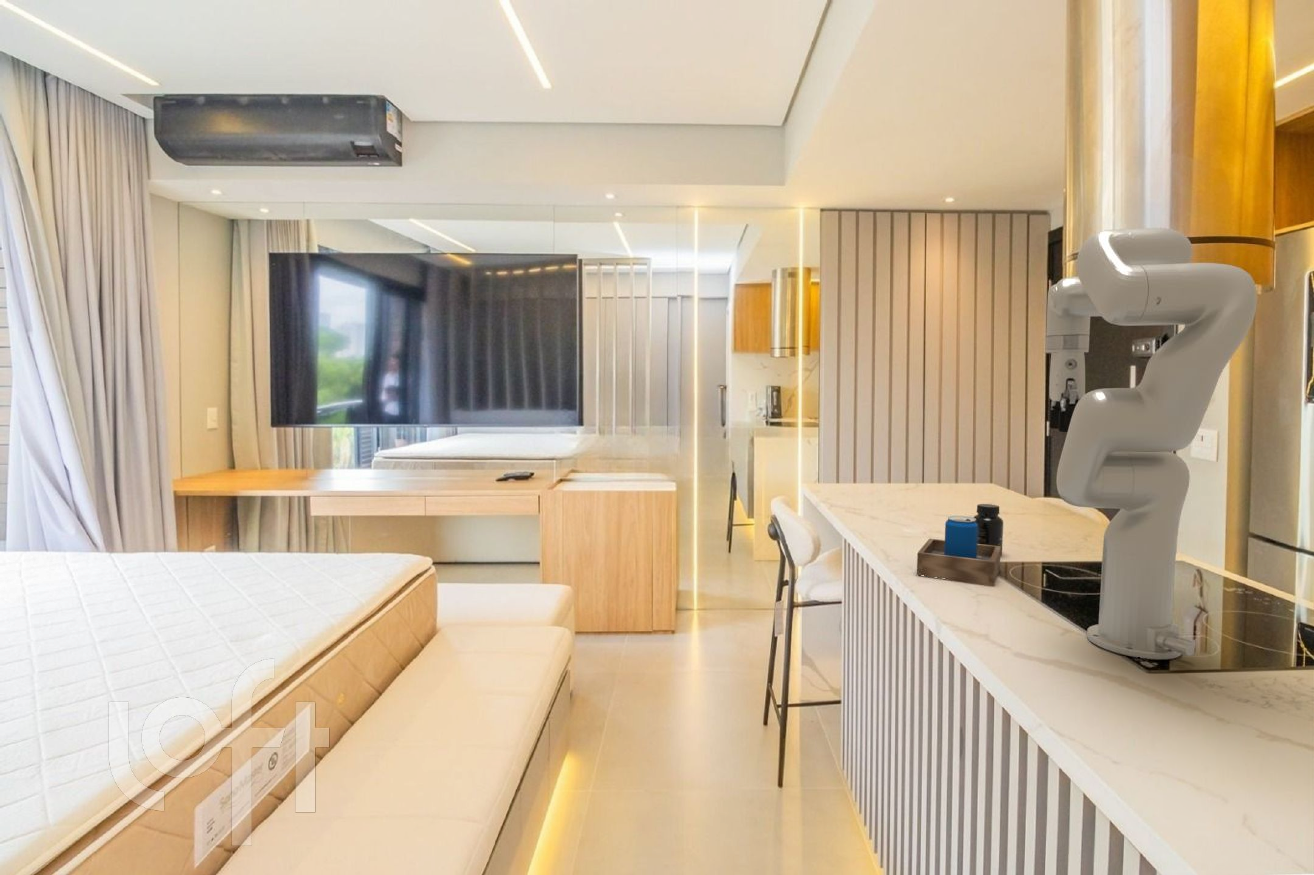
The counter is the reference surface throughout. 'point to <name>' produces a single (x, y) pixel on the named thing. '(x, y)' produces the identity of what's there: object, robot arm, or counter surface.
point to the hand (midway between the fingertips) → (1063, 430)
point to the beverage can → (961, 537)
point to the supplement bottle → (989, 525)
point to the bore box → (959, 563)
